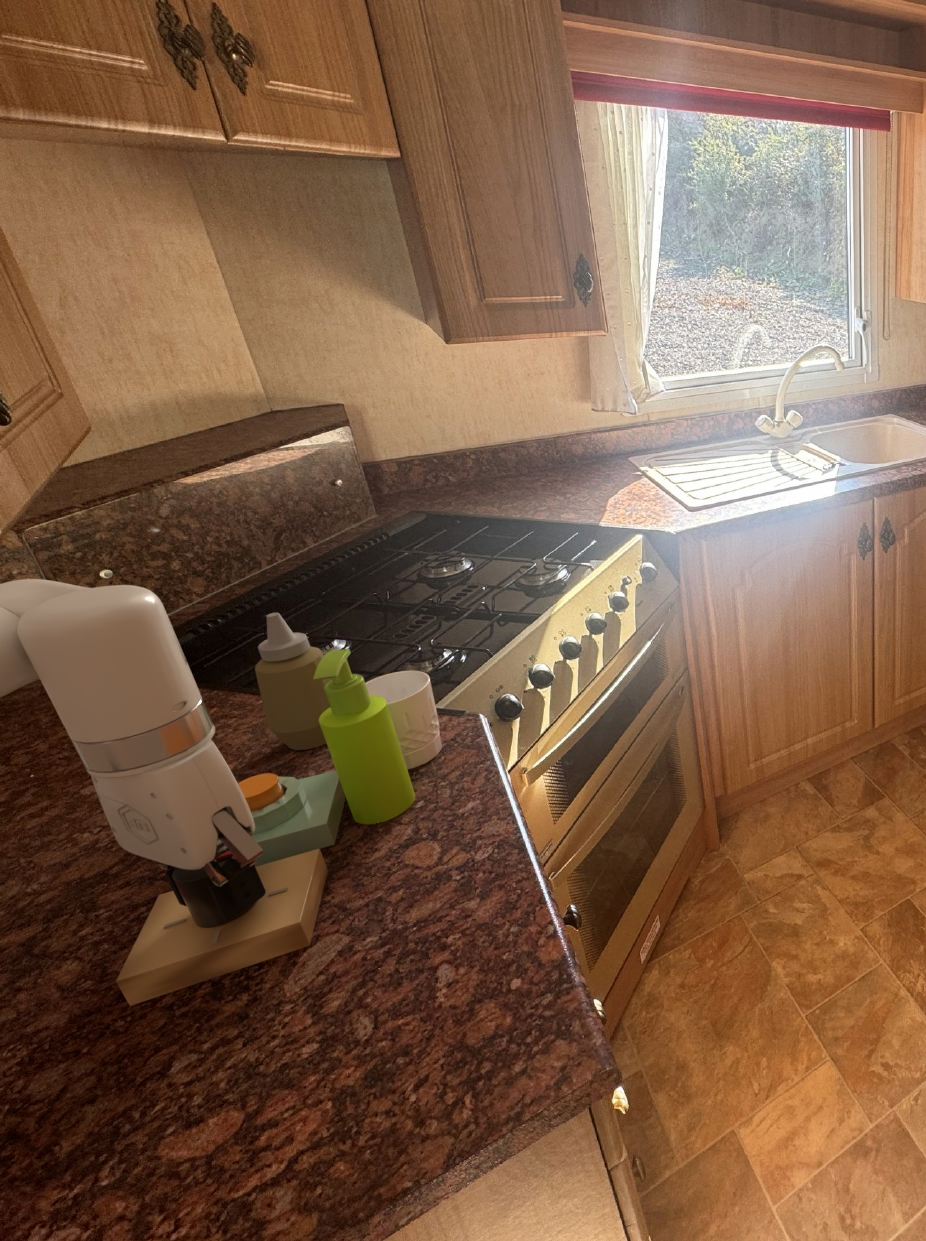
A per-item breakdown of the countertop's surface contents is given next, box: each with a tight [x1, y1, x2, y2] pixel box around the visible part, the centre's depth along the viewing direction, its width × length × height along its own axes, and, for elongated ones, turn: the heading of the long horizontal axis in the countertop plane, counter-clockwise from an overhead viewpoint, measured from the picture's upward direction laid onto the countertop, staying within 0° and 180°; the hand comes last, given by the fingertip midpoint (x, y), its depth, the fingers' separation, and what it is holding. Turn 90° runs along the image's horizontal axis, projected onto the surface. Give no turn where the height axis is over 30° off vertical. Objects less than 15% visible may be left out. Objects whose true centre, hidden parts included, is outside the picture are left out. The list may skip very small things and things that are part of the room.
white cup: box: [365, 670, 443, 770], centre depth 89 cm, size 8×8×10 cm
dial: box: [172, 850, 257, 928], centre depth 65 cm, size 4×4×6 cm
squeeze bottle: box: [254, 612, 332, 751], centre depth 91 cm, size 8×8×18 cm
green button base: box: [217, 769, 346, 867], centre depth 77 cm, size 12×10×5 cm
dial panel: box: [115, 849, 329, 1007], centre depth 67 cm, size 12×10×3 cm
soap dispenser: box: [313, 647, 416, 825], centre depth 78 cm, size 6×7×20 cm
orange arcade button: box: [237, 772, 284, 812], centre depth 76 cm, size 4×4×2 cm
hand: (223, 898), depth 66 cm, fingers closed on dial, 4 cm apart
